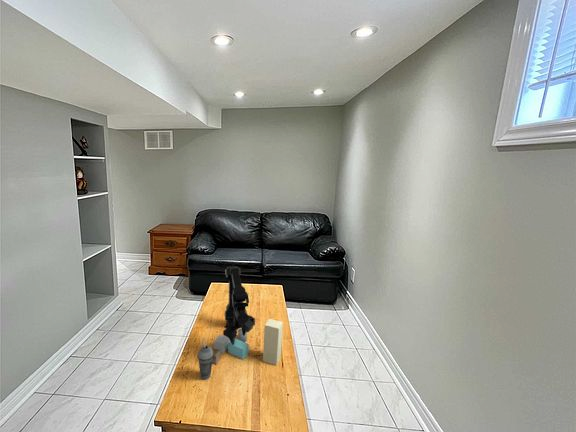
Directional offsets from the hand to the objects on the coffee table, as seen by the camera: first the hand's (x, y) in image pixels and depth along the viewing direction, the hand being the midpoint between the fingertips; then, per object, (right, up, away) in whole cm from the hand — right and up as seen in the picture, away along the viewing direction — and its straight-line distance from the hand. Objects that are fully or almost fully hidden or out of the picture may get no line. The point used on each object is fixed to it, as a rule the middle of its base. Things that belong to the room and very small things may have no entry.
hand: (238, 339), depth 144 cm
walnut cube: (-12, -9, -5) cm, 15 cm away
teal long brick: (0, -8, +1) cm, 8 cm away
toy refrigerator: (+18, -10, -2) cm, 21 cm away
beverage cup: (-13, -10, -16) cm, 23 cm away
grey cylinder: (0, -6, +12) cm, 14 cm away
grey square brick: (-10, -7, +4) cm, 13 cm away
